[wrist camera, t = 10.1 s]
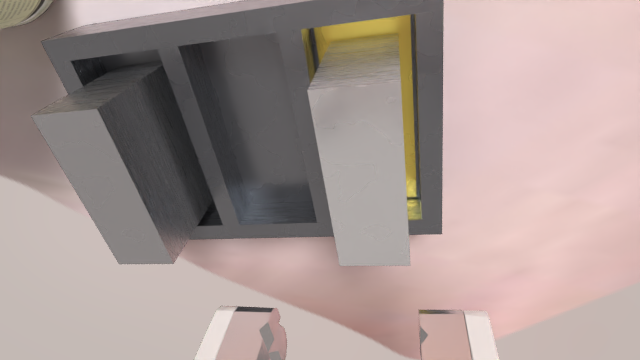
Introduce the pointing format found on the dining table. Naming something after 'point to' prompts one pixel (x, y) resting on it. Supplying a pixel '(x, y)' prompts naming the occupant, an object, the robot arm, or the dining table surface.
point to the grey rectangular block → (363, 149)
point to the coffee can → (21, 11)
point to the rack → (228, 119)
